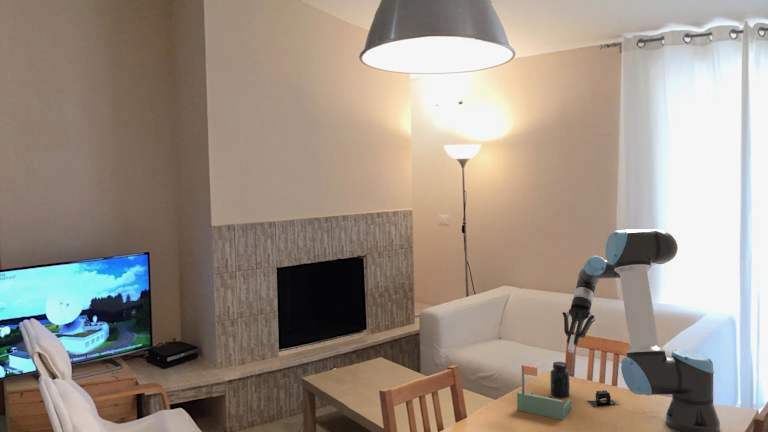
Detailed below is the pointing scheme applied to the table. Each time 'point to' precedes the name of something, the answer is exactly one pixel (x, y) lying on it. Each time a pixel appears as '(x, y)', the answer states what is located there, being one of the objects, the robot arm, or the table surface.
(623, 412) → the table surface
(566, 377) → the supplement bottle
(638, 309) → the robot arm
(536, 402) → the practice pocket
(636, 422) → the table surface
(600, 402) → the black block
